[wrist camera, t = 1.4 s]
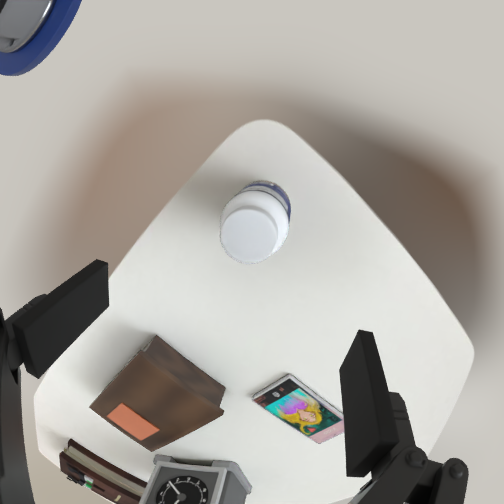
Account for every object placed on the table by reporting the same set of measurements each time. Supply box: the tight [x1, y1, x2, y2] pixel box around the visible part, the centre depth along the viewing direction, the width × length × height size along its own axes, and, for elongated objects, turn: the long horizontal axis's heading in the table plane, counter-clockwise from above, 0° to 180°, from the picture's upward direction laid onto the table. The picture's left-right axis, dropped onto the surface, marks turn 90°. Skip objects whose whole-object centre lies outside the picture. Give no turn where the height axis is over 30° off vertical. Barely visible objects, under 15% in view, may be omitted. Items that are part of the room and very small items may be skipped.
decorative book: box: [59, 439, 148, 504], centre depth 59 cm, size 19×8×30 cm
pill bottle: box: [220, 181, 291, 264], centre depth 26 cm, size 5×5×10 cm
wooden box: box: [89, 335, 225, 452], centre depth 40 cm, size 13×21×5 cm, turn 138°
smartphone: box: [252, 374, 344, 444], centre depth 39 cm, size 7×1×15 cm
